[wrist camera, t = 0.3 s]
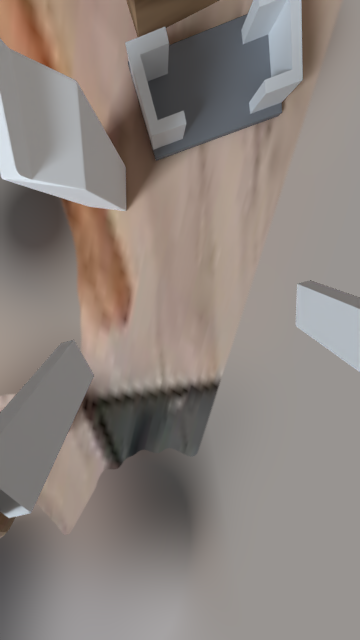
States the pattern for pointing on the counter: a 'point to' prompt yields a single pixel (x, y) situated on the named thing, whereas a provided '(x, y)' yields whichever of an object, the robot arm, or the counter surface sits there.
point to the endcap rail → (217, 76)
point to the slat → (162, 12)
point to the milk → (55, 136)
